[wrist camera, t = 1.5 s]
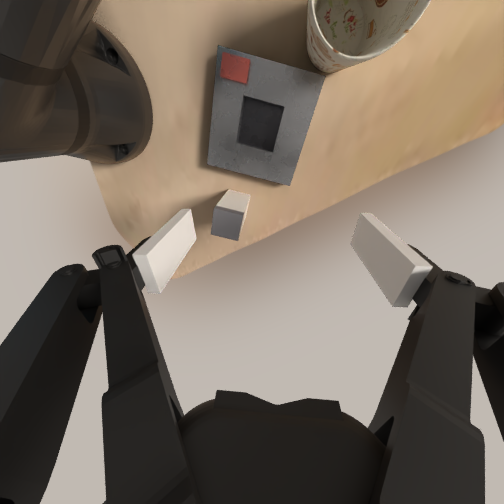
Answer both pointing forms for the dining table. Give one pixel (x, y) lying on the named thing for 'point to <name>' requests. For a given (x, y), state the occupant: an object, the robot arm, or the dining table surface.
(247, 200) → the plug
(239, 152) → the socket plate
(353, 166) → the dining table surface
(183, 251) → the robot arm
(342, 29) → the mug
